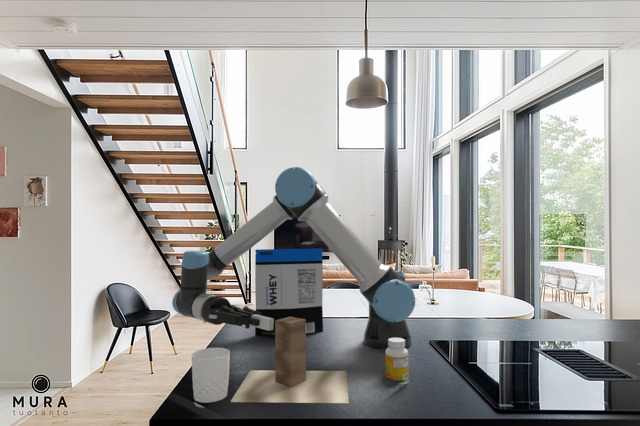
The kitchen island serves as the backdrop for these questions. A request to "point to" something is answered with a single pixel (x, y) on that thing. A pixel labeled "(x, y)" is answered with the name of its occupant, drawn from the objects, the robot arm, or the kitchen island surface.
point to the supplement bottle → (397, 360)
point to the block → (290, 351)
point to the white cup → (210, 374)
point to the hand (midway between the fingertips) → (271, 324)
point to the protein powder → (289, 287)
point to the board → (294, 388)
